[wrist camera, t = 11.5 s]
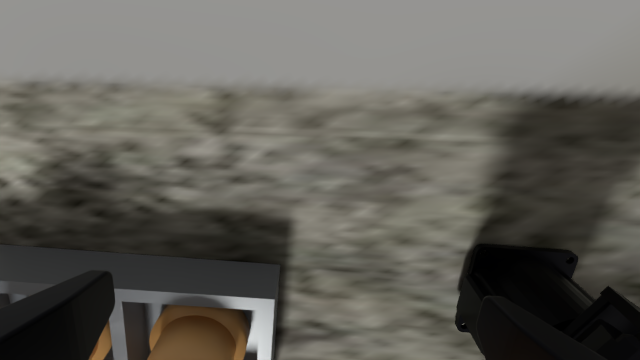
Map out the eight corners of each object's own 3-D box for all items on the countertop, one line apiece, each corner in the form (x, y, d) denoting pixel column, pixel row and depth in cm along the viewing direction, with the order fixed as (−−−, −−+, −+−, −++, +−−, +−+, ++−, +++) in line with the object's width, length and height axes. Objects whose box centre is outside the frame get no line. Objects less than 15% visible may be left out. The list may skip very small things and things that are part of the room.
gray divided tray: (280, 264, 24) (269, 332, 18) (273, 373, 26) (261, 461, 21) (-2, 244, 23) (-107, 308, 17) (23, 359, 26) (-59, 446, 20)
